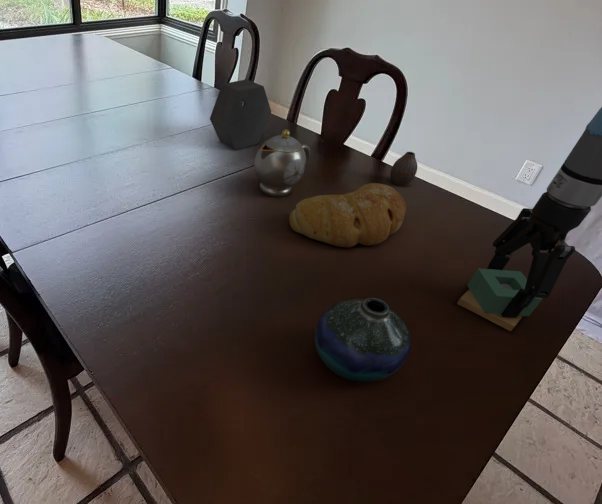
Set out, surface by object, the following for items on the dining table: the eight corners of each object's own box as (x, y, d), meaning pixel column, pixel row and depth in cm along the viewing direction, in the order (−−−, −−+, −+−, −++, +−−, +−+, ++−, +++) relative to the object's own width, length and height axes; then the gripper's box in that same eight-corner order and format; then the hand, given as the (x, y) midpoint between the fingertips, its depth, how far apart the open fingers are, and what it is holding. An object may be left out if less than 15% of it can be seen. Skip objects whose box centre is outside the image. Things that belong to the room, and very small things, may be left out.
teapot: (268, 207, 116) (280, 144, 105) (239, 185, 124) (247, 124, 112) (319, 193, 123) (335, 133, 112) (288, 173, 131) (300, 115, 120)
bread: (326, 262, 100) (338, 223, 93) (277, 220, 112) (285, 182, 105) (426, 234, 111) (445, 197, 104) (372, 198, 123) (385, 163, 116)
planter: (259, 117, 150) (241, 63, 132) (275, 125, 146) (258, 69, 128) (225, 153, 150) (202, 104, 132) (240, 162, 146) (219, 112, 128)
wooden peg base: (477, 282, 97) (489, 264, 94) (529, 308, 92) (544, 289, 88) (456, 303, 92) (468, 284, 88) (510, 331, 87) (525, 312, 83)
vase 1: (373, 330, 85) (400, 274, 75) (410, 393, 74) (446, 338, 64) (297, 333, 83) (314, 277, 73) (323, 399, 72) (347, 342, 63)
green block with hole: (508, 288, 94) (520, 271, 91) (528, 316, 88) (542, 299, 85) (467, 285, 94) (477, 268, 91) (484, 313, 88) (496, 295, 85)
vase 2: (383, 182, 131) (394, 152, 125) (393, 175, 135) (404, 146, 128) (405, 190, 128) (417, 160, 121) (414, 183, 131) (427, 153, 125)
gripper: (515, 168, 83) (458, 264, 99) (584, 233, 67) (503, 335, 83) (554, 171, 83) (491, 267, 99) (633, 236, 67) (542, 338, 83)
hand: (496, 298), depth 91 cm, fingers open, 10 cm apart
